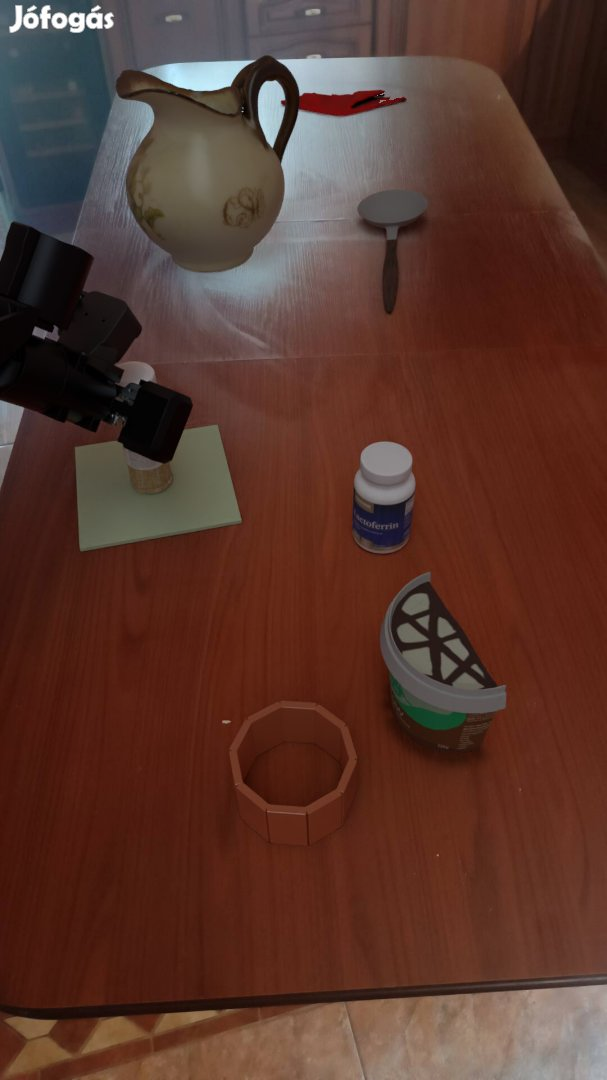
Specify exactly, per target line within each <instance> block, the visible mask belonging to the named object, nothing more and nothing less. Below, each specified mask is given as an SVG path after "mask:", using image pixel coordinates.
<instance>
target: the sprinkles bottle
mask: <svg viewBox="0 0 607 1080" xmlns="http://www.w3.org/2000/svg"><path fill="white" fill-rule="evenodd" d="M115 366H117V367H119V368H121V369H124V373H123V376H122V378H121V381H120V383H116V382H115V384H117V385H120V386H122V387H126V386H127V385H128V384H129V383H136V384H138V385H139V382H140V380H141V379H142V380H145V381H147V382H148V381H151V382H154V383H156V384H158V382H157V376H156V372H155V369H154V368H153V366H151V365H150V364H149V363H146V362H143V361H137V360H136V361H135V360H133V361H132V360H131V361H126V362H121V363H118V364H116V365H115ZM125 398H127V397H125ZM115 399H117V400H119V401H121V402H123V400H124V399H121V398H119V397H118V396H116V398H115ZM128 399H129V398H128ZM115 413H116V415H118V414H119V413H117V412H115ZM122 422H123V420H121V419H120V418H118V421H117V426H118V431H119V433H120V432H121V429H122V427H123V426H122ZM122 447H123V444H122ZM123 451H124V455H125V460H126V462H127V465H128V470H129V474H130V483H131V486H132V487H133V488H134V489H135V490H136V491H138V492H141V493H145V494H153V493H158V492H161V491H163V490H164V489H166V488H167V487H168V486H170V484H171V483H172V480H173V474H172V471H171V469H170V464H169V462H168V463H166V464H163V463H159V462H156V461H152V460H150V459H148V458H146V457H143V456H141V455H139V454H137V453H134V452H132V451H130V450H128V449H126V448H124V447H123Z"/></svg>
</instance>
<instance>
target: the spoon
mask: <svg viewBox="0 0 607 1080" xmlns="http://www.w3.org/2000/svg"><path fill="white" fill-rule="evenodd" d="M428 205H429V202H428V199H427V198H426V196H424V194H421V193H419V192H417V191H414V190H410V189H387V190H382V191H378V192H375V193H372V194H369V195H368V196H366V197H365V198H363V199H362V200H361V201H360V202H359V203H358V205H357V208H356V211H357V214H358V215H359V217H361V218H362V220H364V221H365V222H366V223H368V224H370V225H372V226H374V227H376V228H379V229H383V230H385V231H386V248H385V249H386V250H385V251H386V252H385V257H384V262H383V266H382V267H383V269H382V296H383V303H384V309H385V311H386V312H387V313H391V312H392V311H393V309H394V307H395V302H396V298H397V292H398V284H399V261H398V255H397V254H398V253H397V246H398V245H397V244H398V231H399V229H400V228H404V227H406V226H409V225H411V224H412V223H415V222H416V221H417V220H418V219H419V218H421V216H422V215H423V214H424V213H425V212H426V210H427V208H428Z"/></svg>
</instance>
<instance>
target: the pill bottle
mask: <svg viewBox="0 0 607 1080" xmlns="http://www.w3.org/2000/svg"><path fill="white" fill-rule="evenodd" d="M412 470H413V456H412V453H411V452H410V451H409V450H408V448H407V447H405V446H403V445H401V444H400V443H397V442H392V441H377V442H374V443H371V444H369V445H367V446H366V447H365V448H364V449H363V450H362V451H361V454H360V459H359V469H358V470H357V471H356V473H355V476H354V479H353V495H352V496H353V497H352V517H351V518H352V519H351V532H352V533H351V534H352V537H353V539H354V540H355V543H356V544H357V545H358V546H359V547H361V548H362V549H363V550H365V551H368V552H370V553H374V554H380V555H381V554H384V555H385V554H391V553H395V552H398V551H399V550H401V549H402V548H403V547H405V545H406V544H407V543H408V541H409V539H410V537H411V531H412V530H411V529H412V522H413V514H414V506H415V505H414V504H415V503H414V502H415V495H416V487H417V486H416V484H417V483H416V477H415V475H414V473H413V471H412Z"/></svg>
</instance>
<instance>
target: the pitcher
mask: <svg viewBox="0 0 607 1080" xmlns="http://www.w3.org/2000/svg"><path fill="white" fill-rule="evenodd" d="M274 81H276V82H277V83H278V84H279V86H280V87H281V88H282V91H283V95H284V100H285V106H284V111H283V116H282V119H281V123H280V125H279V129H278V132H277V135H276V137H275V140H274V143H273V145H271V144H270V143H269V142H268V140H267V137H266V135H265V132H264V130H263V127H262V125H261V122H260V116H259V95H260V91H261V88H262V87H263V85H265V83H266V82H274ZM115 92H116V94H117V97H119V98H120V99H122V100H126V101H135V102H141V103H144V104H147V105H148V106H149V107H150V108H151V110H152V112H153V123H152V125H151V127H150V128H149V130H148V132H147V133H146V135H145V136H144V138H143V139H142V140H141V142H140V143H139V145H138V147H137V148H136V150H135V152H134V154H133V155H132V157H131V159H130V161H129V164H128V168H127V170H126V171H127V172H126V177H125V193H126V200H127V203H128V207H129V209H130V212H131V214H132V216H133V218H134V220H135V222H136V223H137V226H139V228H140V229H141V230H142V233H144V234H145V235H146V236H147V238H148V239H149V240H150V241H151V242H152V243H154V244H155V245H156V246H157V247H159V248H160V249H161V250H163V251H164V252H166V253H167V254H168V255H170V257H171V260H172V261H173V262H174V263H175V264H176V265H177V266H179V267H180V268H181V269H184V270H186V271H191V272H196V273H217V272H225V271H229V270H231V269H234V268H237V267H240V266H242V265H243V264H245V263H246V262H247V261H248V260H249V259H250V258H251V257H252V255H253V253H254V248H255V247H257V246H258V245H259V244H260V243H261V242H262V241H263V240H264V238H265V237H266V236H267V235H268V234H269V232H270V231H271V230H272V229H273V226H274V224H275V223H276V221H277V219H278V218H279V215H280V213H281V211H282V210H281V209H282V207H283V203H284V199H285V191H286V190H285V189H286V182H285V173H284V169H283V166H282V163H283V158H284V155H285V152H286V149H287V147H288V143H289V141H290V139H291V136H292V134H293V132H294V129H295V126H296V122H297V120H298V116H299V112H300V109H299V105H300V96H301V95H300V88H299V85H298V82H297V79H296V78H295V76H294V74H293V73H292V72H291V70H290V69H289V68H288V67H287V66H286V65H285V64H284V63H283V62H281V61H279V60H278V59H277V58H276V57H274V56H273V55H269V54H265V55H262V56H261V57H259V58H257V59H256V60H254V61H252V62H250V63H248V64H247V65H245V66H243V68H241V70H239V72H238V73H237V74H236V76H235V77H234V79H233V80H232V82H231V84H230V85H228V86H225V87H221V88H218V89H213V90H194V89H192V88H184V87H181V86H180V87H179V86H177V85H175V84H173V83H171V82H167V81H165V80H162V79H161V78H159V77H158V76H155V75H153V74H150V73H147V72H146V71H143V70H138V69H137V70H136V69H124V70H122V71H121V73H120V75H119V76H118V77H117V79H116V80H115Z"/></svg>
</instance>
